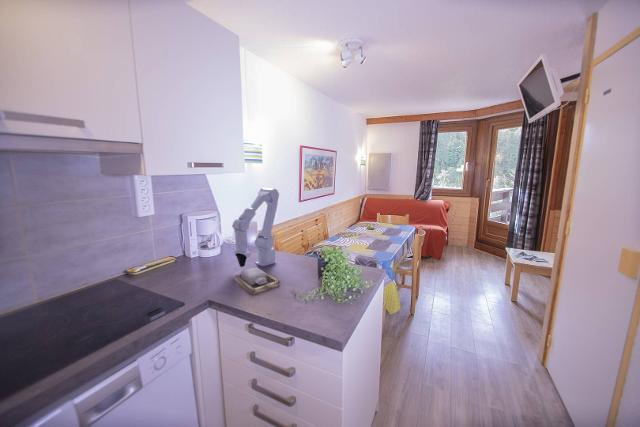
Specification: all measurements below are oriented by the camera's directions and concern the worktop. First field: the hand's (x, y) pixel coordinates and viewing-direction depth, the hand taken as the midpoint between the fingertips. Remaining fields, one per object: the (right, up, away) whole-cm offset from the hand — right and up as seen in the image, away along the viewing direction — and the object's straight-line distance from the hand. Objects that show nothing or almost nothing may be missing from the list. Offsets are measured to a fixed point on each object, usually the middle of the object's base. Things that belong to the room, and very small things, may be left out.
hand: (242, 266), depth 138 cm
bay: (+10, -6, -11) cm, 16 cm away
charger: (+10, -6, -10) cm, 16 cm away
